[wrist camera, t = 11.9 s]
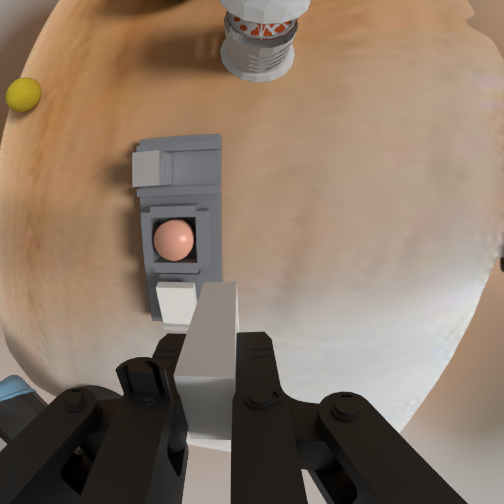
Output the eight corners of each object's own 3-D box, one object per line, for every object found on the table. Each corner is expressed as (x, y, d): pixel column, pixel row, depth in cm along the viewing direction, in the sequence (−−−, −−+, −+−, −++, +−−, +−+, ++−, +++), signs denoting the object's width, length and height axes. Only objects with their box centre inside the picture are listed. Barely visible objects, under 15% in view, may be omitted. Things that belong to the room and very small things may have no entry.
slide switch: (148, 185, 30) (132, 187, 26) (148, 156, 30) (132, 152, 25) (171, 184, 31) (159, 185, 26) (171, 154, 30) (159, 150, 25)
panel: (156, 314, 37) (145, 331, 33) (145, 141, 31) (130, 136, 26) (224, 316, 38) (221, 335, 33) (221, 136, 31) (217, 129, 27)
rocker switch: (167, 322, 34) (164, 332, 32) (158, 281, 31) (154, 290, 29) (200, 324, 34) (198, 333, 32) (194, 282, 31) (192, 291, 29)
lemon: (53, 81, 27) (24, 70, 19) (44, 113, 29) (12, 106, 21) (33, 85, 27) (4, 76, 19) (24, 115, 28) (-7, 110, 20)
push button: (162, 253, 33) (155, 260, 30) (160, 218, 31) (152, 221, 28) (197, 253, 33) (192, 260, 30) (196, 217, 32) (191, 221, 29)
